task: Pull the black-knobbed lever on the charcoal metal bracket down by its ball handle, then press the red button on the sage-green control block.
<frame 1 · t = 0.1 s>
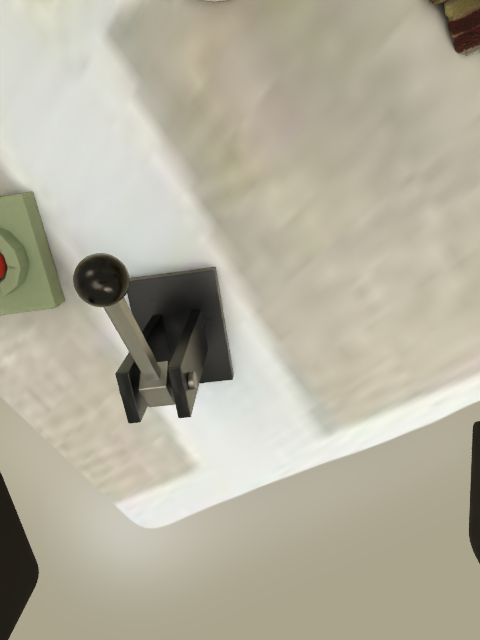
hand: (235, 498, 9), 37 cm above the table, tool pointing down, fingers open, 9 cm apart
lever: (133, 339, 32), point 15 cm above the table, hinge at 30.0°
control block: (6, 254, 46), on the table
bracket: (182, 328, 48), on the table
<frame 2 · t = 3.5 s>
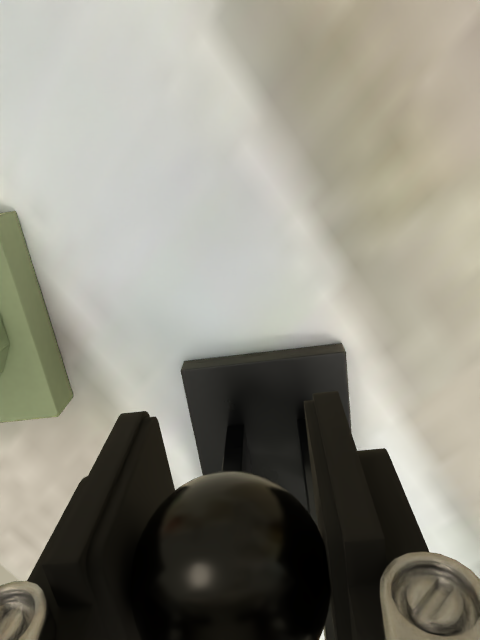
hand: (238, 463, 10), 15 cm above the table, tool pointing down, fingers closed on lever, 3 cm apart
lever: (267, 618, 12), point 15 cm above the table, hinge at 30.0°, touching gripper
bracket: (274, 440, 28), on the table
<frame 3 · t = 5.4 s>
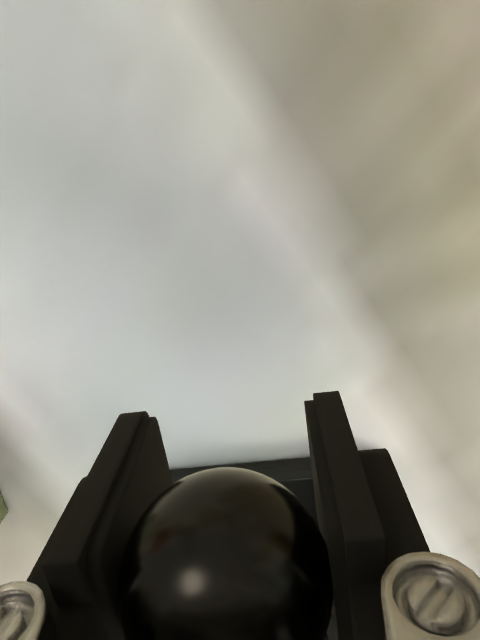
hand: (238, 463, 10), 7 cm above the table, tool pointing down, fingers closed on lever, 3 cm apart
bracket: (282, 569, 21), on the table
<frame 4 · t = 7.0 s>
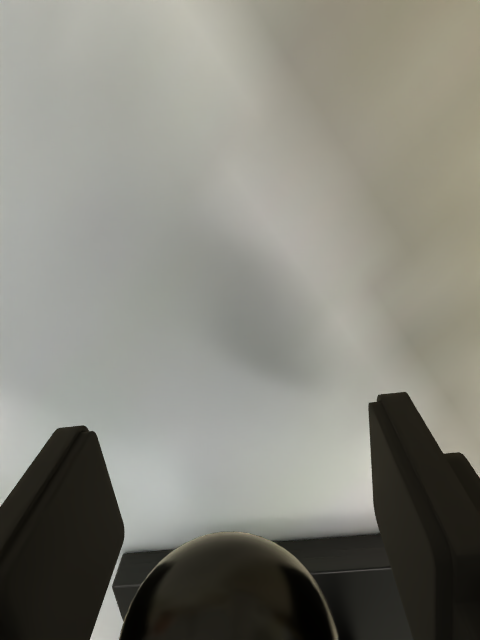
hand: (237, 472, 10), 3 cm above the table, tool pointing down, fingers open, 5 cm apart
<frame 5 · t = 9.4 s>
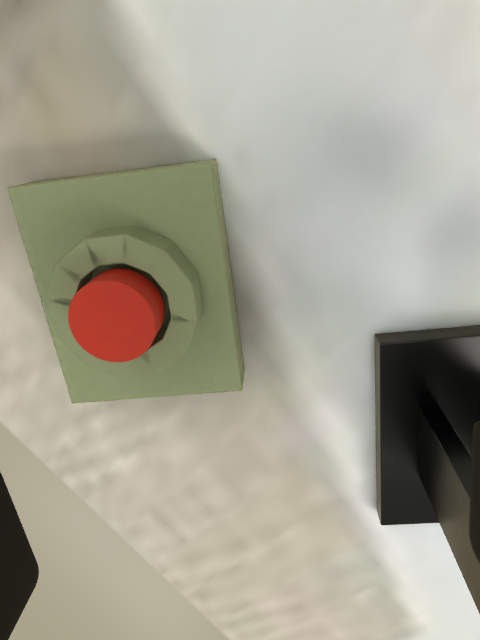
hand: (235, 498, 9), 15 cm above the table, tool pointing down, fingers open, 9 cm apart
control block: (144, 282, 23), on the table
button: (118, 315, 19), point 5 cm above the table, slide at 0.2 cm
bracket: (457, 424, 26), on the table
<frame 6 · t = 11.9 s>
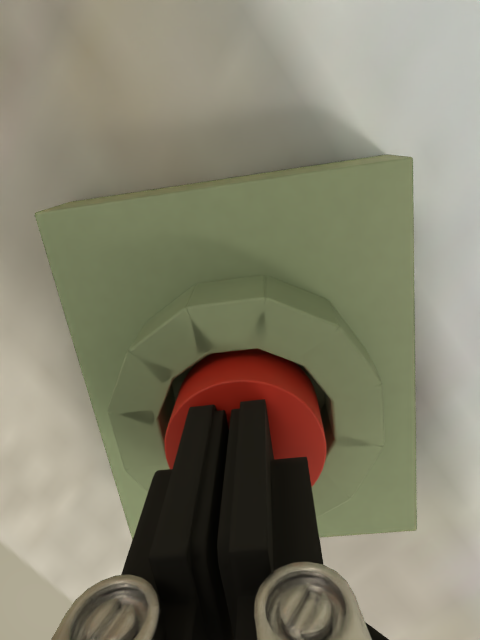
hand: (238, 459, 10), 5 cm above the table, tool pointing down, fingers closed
control block: (250, 356, 15), on the table
button: (246, 429, 11), point 4 cm above the table, slide at -0.4 cm, touching gripper
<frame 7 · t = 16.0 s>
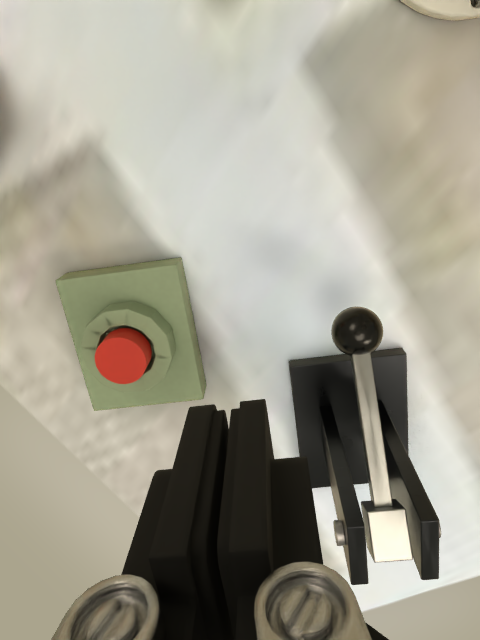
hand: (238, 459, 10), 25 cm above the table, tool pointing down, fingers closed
lever: (370, 425, 28), point 9 cm above the table, hinge at -28.9°
control block: (139, 331, 37), on the table
button: (123, 355, 32), point 5 cm above the table, slide at 0.2 cm
bracket: (349, 417, 39), on the table
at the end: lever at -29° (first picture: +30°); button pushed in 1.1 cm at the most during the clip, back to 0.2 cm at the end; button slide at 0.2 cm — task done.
